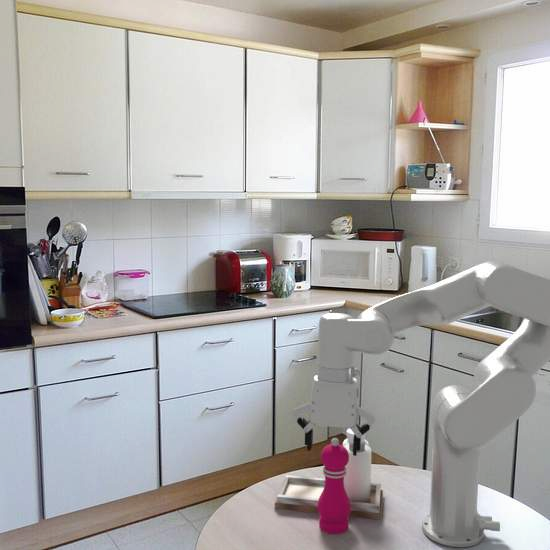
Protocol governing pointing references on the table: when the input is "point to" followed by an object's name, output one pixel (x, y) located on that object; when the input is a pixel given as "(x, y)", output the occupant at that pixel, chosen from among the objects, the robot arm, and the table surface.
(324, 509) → the pepper mill
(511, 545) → the table surface
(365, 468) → the salt shaker
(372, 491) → the rail
